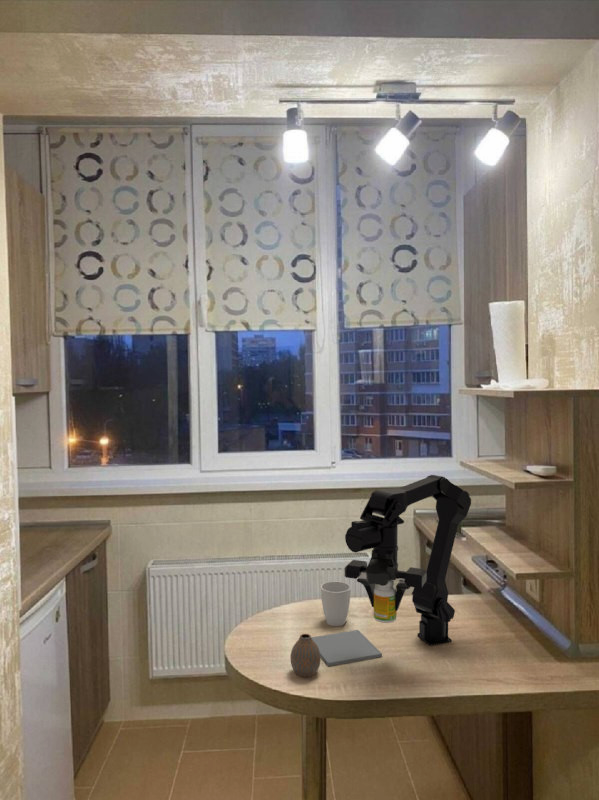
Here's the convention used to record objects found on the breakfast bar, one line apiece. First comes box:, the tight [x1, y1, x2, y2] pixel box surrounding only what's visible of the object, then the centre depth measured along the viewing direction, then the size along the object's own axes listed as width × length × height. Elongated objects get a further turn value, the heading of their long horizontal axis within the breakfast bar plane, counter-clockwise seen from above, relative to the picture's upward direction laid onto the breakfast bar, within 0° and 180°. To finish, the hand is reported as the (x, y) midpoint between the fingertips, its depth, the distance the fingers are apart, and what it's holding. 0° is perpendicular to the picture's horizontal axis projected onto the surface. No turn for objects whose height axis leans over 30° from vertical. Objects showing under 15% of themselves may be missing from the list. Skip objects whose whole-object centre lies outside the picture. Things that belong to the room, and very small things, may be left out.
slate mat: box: [311, 629, 383, 667], centre depth 153 cm, size 14×14×1 cm
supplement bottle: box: [373, 580, 397, 624], centre depth 146 cm, size 5×5×10 cm
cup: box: [320, 580, 351, 627], centre depth 168 cm, size 8×8×10 cm
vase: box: [290, 633, 322, 678], centre depth 141 cm, size 7×7×9 cm
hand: (385, 608), depth 146 cm, fingers closed on supplement bottle, 5 cm apart
